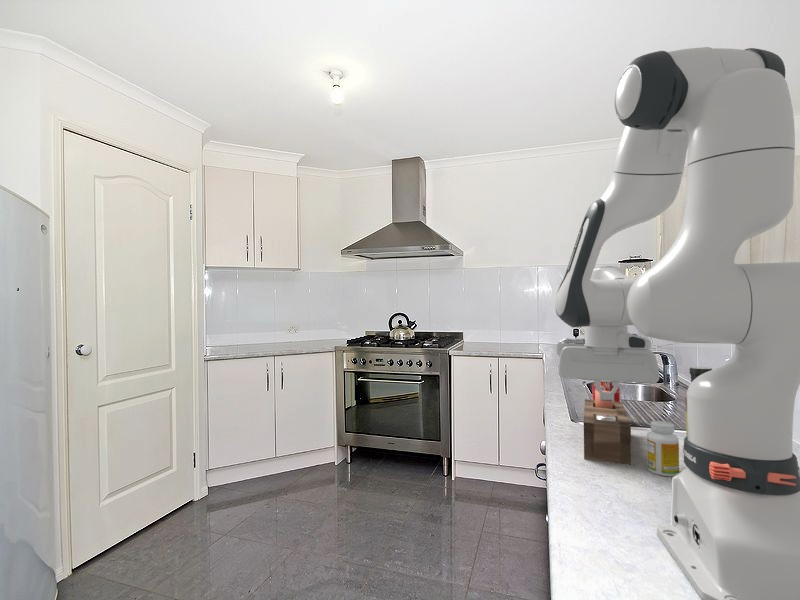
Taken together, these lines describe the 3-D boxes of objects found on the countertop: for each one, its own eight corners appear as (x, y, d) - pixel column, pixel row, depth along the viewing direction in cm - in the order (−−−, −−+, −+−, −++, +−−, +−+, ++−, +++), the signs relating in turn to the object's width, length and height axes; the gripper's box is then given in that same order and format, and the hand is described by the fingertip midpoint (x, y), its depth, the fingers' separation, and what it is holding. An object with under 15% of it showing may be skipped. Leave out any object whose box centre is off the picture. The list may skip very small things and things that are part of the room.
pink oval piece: (613, 422, 101) (613, 394, 101) (595, 420, 103) (595, 392, 103) (612, 418, 105) (612, 391, 105) (595, 416, 106) (595, 389, 106)
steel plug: (616, 451, 90) (616, 419, 90) (596, 449, 92) (596, 417, 92) (615, 446, 94) (615, 415, 94) (596, 443, 95) (595, 413, 95)
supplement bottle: (682, 472, 82) (682, 423, 82) (674, 479, 78) (673, 428, 78) (652, 464, 86) (651, 418, 86) (643, 471, 82) (642, 422, 82)
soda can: (588, 420, 119) (587, 379, 119) (600, 416, 123) (599, 376, 124) (613, 425, 114) (612, 382, 114) (624, 421, 118) (624, 379, 118)
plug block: (631, 465, 85) (630, 427, 85) (584, 459, 89) (583, 422, 89) (622, 433, 107) (622, 402, 107) (585, 428, 111) (584, 399, 111)
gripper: (555, 338, 94) (556, 399, 94) (659, 341, 86) (661, 407, 85) (557, 337, 100) (558, 394, 99) (655, 339, 91) (656, 402, 91)
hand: (606, 400), depth 92 cm, fingers closed
